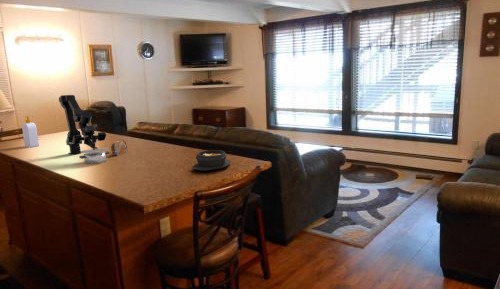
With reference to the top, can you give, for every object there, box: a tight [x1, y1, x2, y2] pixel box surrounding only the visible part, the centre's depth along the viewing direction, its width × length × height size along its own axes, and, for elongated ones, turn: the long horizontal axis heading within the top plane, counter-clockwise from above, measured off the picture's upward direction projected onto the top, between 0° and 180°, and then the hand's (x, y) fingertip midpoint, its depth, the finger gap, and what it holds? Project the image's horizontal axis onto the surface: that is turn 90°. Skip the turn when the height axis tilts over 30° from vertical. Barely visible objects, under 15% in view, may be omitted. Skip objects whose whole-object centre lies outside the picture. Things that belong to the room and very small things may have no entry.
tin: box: [110, 139, 128, 156], centre depth 247 cm, size 15×3×8 cm, turn 168°
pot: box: [79, 150, 110, 165], centre depth 226 cm, size 12×17×5 cm
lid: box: [80, 146, 109, 154], centre depth 225 cm, size 13×12×3 cm
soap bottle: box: [21, 115, 40, 148], centre depth 280 cm, size 9×7×23 cm
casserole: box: [191, 149, 232, 172], centre depth 205 cm, size 25×19×8 cm
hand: (94, 148), depth 225 cm, fingers closed
